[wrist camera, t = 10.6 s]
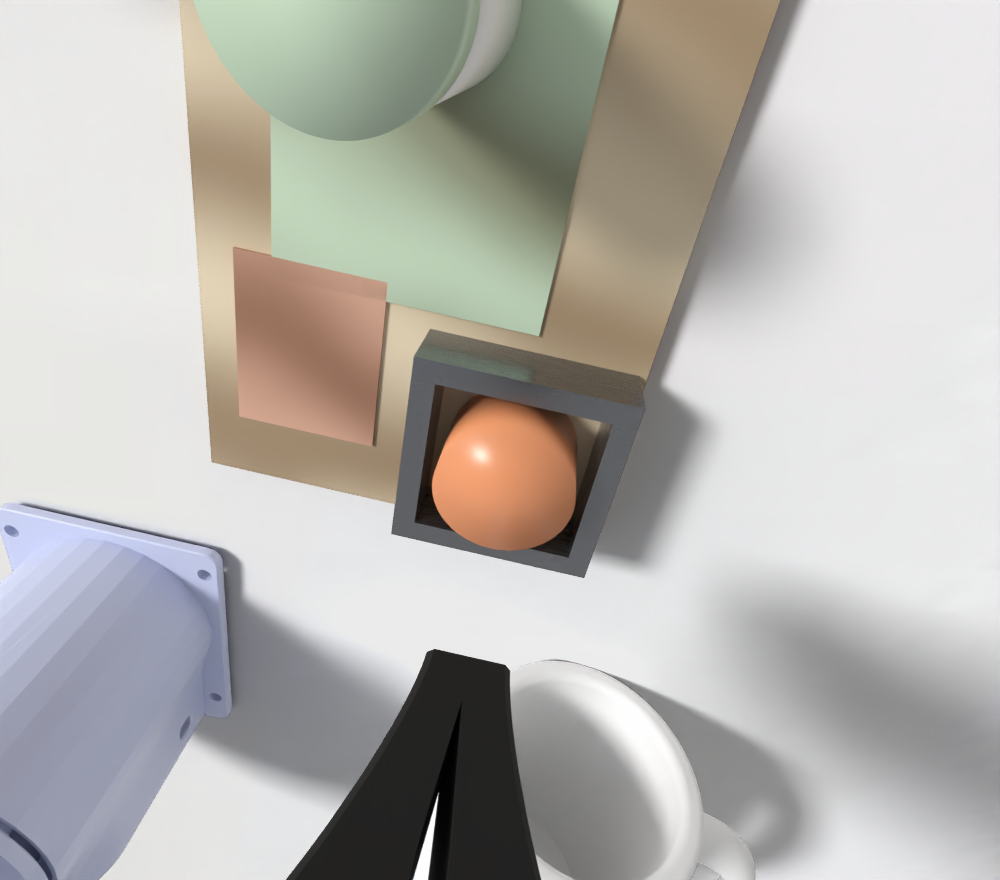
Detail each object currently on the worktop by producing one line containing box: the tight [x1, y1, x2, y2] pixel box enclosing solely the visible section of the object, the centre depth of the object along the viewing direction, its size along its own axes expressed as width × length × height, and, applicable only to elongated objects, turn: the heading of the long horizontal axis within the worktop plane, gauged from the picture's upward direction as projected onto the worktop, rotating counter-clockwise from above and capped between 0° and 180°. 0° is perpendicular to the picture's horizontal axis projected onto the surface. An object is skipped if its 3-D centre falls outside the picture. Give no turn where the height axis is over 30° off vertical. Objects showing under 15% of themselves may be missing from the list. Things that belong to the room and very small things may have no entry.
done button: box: [432, 394, 577, 551], centre depth 17 cm, size 4×4×2 cm
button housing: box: [391, 329, 645, 578], centre depth 17 cm, size 6×6×2 cm
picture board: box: [179, 0, 780, 504], centre depth 16 cm, size 16×12×1 cm
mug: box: [413, 661, 756, 880], centre depth 23 cm, size 12×10×8 cm
